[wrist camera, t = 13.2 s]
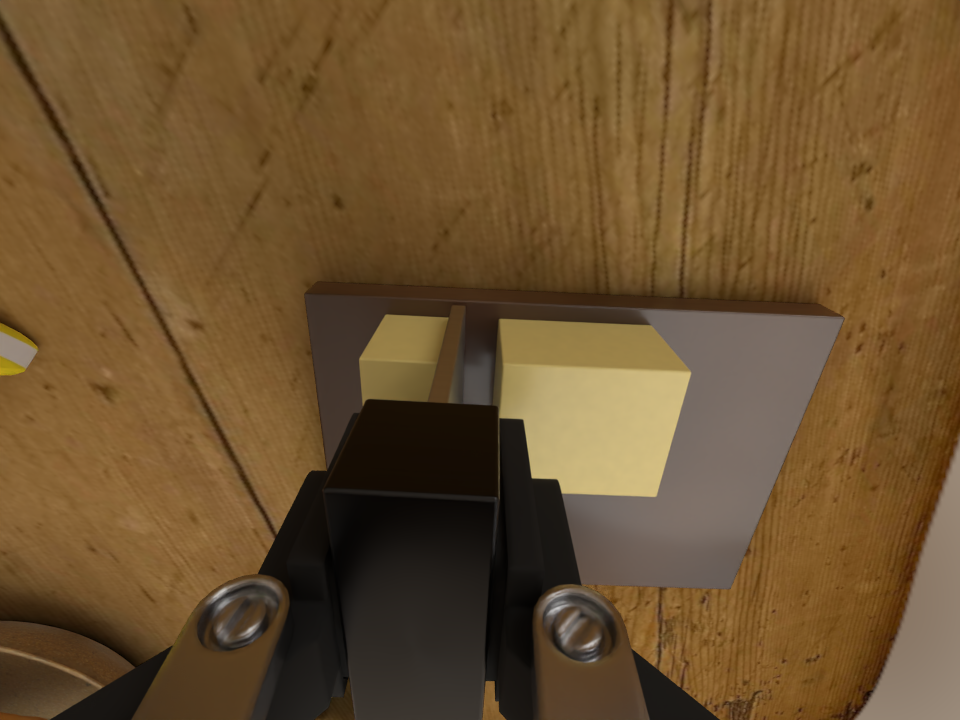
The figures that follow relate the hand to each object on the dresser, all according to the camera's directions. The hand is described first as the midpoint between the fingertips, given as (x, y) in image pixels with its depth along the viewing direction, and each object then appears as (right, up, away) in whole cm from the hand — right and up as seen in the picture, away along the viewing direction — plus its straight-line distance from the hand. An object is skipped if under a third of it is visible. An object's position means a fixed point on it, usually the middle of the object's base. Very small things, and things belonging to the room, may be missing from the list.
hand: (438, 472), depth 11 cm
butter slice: (-1, +2, +4) cm, 5 cm away
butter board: (+3, -1, +7) cm, 8 cm away
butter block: (+4, +2, +4) cm, 6 cm away
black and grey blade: (0, +2, +4) cm, 4 cm away
